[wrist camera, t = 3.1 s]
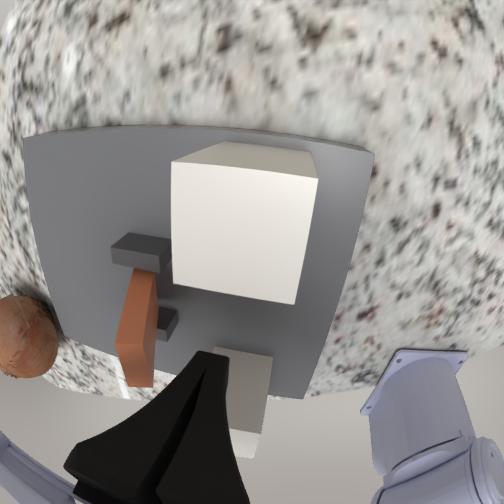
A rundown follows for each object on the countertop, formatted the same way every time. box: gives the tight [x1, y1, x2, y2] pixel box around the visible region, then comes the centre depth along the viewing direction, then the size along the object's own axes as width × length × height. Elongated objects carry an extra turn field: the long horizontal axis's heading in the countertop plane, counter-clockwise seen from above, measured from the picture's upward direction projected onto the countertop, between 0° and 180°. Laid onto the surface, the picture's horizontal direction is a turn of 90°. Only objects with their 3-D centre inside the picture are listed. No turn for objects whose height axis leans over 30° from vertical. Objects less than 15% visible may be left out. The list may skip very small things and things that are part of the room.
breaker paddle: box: [115, 268, 159, 388], centre depth 14 cm, size 3×1×6 cm, turn 175°
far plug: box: [212, 346, 273, 459], centre depth 17 cm, size 4×4×6 cm
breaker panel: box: [23, 125, 375, 399], centre depth 18 cm, size 18×22×5 cm
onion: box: [0, 294, 58, 378], centre depth 23 cm, size 10×9×10 cm
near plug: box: [171, 141, 318, 305], centre depth 11 cm, size 4×4×6 cm
